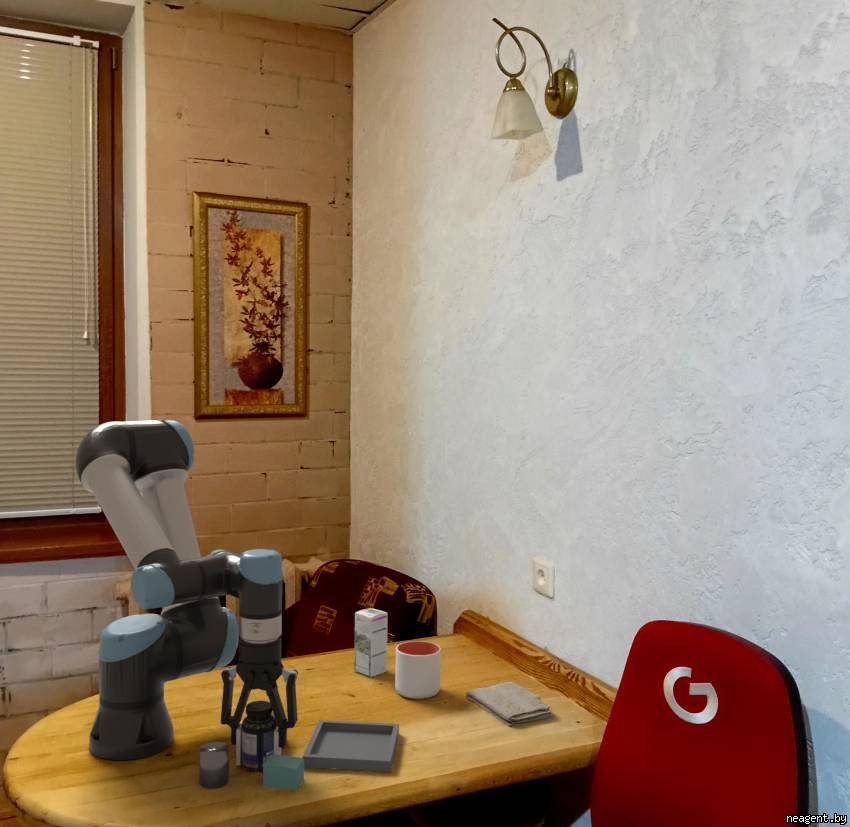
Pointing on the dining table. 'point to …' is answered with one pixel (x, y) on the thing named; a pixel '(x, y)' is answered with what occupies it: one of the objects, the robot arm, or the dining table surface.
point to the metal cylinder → (214, 765)
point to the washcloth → (510, 703)
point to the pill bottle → (257, 735)
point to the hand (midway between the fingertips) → (258, 762)
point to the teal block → (283, 772)
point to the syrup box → (370, 642)
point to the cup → (417, 669)
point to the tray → (352, 745)
